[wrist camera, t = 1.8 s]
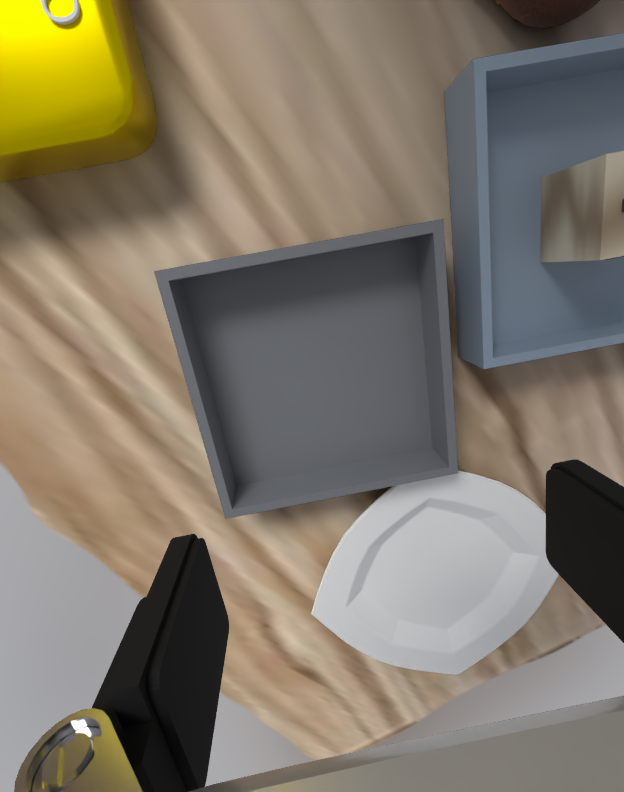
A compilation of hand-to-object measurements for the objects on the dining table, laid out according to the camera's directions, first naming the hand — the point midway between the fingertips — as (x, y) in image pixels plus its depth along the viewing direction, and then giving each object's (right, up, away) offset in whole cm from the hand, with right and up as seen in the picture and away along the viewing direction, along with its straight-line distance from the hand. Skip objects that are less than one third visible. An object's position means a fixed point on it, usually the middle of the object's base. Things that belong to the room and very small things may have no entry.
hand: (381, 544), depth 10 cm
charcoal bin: (-1, +6, +17) cm, 18 cm away
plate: (+9, -11, +23) cm, 27 cm away
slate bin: (+15, +16, +15) cm, 26 cm away
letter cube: (+15, +16, +14) cm, 26 cm away
